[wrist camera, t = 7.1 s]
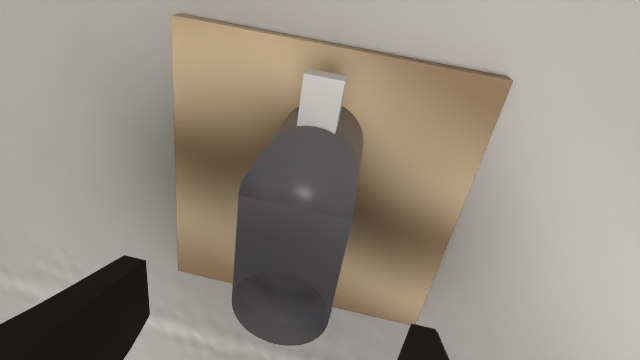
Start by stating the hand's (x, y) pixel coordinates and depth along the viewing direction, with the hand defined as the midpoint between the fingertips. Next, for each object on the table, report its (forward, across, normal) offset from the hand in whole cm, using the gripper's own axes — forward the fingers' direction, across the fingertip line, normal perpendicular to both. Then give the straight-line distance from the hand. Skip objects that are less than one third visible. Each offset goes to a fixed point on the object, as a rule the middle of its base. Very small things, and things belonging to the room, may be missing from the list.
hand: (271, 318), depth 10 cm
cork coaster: (+7, 0, 0) cm, 7 cm away
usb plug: (+7, 0, -1) cm, 7 cm away
